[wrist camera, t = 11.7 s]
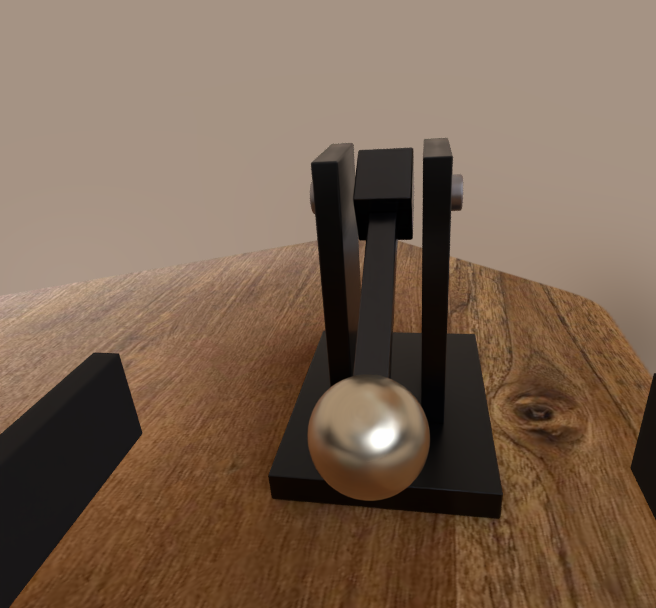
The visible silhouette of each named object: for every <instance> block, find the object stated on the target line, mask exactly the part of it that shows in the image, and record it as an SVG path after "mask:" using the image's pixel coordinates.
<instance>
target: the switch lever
mask: <svg viewBox="0 0 656 608" xmlns="http://www.w3.org/2000/svg"><path fill="white" fill-rule="evenodd" d="M353 204H354V211H355V217H356V224H357V230H358V237H359V240H366V247H365V257H364V268H363V278H362V289H361V299H360V310H359V320H358V331H357V341H356V352H355V362H354V373H353V376H352V377H349V378H346V379H344V380H341V381H340V382H338V383H336V384H335V385H333V386H332V387H330V388H329V389H328V390H327V391H326V392H325V393H324V394H323V395H322V396H321V398H320V399H319V400H318V402H317V403H316V405H315V407H314V409H313V412H312V414H311V417H310V420H309V425H308V447H309V452H310V455H311V458H312V461H313V463H314V465H315V467H316V469H317V471H318V472H319V474H320V475H321V477H322V478H323V479H324V480H325V481H326V482H327V483H328V484H329V485H330V486H331V487H332V488H334V489H335V490H337V491H338V492H340V493H341V494H344V495H346V496H348V497H351V498H354V499H359V500H366V501H374V500H382V499H386V498H389V497H392V496H394V495H396V494H398V493H400V492H401V491H403V490H404V489H406V488H407V487H408V486H409V485H411V484H412V482H413V481H414V480H415V479H416V478H417V477H418V475H419V474H420V473H421V471H422V469H423V467H424V465H425V462H426V460H427V456H428V452H429V447H430V431H429V426H428V421H427V418H426V415H425V413H424V411H423V409H422V407H421V405H420V403H419V402H418V400H417V399H416V398H415V397H414V395H413V394H412V393H411V392H410V391H409V390H407V389H406V388H405V387H404V386H402V385H401V384H399V383H398V382H396V381H394V380H392V379H391V363H392V343H393V323H394V303H395V283H396V263H397V243H398V240H411V239H412V238H413V209H414V208H413V207H414V162H413V148H396V149H395V148H394V149H373V150H359V152H358V159H357V168H356V176H355V184H354V192H353Z"/></svg>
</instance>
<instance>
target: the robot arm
mask: <svg viewBox="0 0 656 608" xmlns="http://www.w3.org/2000/svg"><path fill="white" fill-rule="evenodd" d="M141 435H142V430H141V426H140V423H139V420H138V416H137V413H136V409H135V406H134V403H133V399H132V396H131V393H130V389H129V386H128V383H127V379H126V376H125V373H124V369H123V366H122V362H121V359H120V356H119V354H117V353H93V354H92V355H91V356H89V357H88V358H87V359H86V360H85V361H84V362H83V363H81V364H80V365H79V366H78V367H77V368H76V369H75V370H73V371H72V372H71V373H70V374H69V375H68V376H67V377H65V378H64V379H63V380H62V381H61V382H60V383H59V384H57V385H56V386H55V387H54V388H53V389H52V390H51V391H49V392H48V393H47V394H46V395H45V396H44V397H43V398H41V399H40V400H39V401H38V402H37V403H36V404H35V405H33V406H32V407H31V408H30V409H29V410H28V411H27V412H25V413H24V414H23V415H22V416H21V417H20V418H19V419H17V420H16V421H15V422H14V423H13V424H12V425H11V426H9V427H8V428H7V429H6V430H5V431H4V432H3V433H1V434H0V608H9V607H10V606H11V604H12V603H13V602H14V600H15V599H16V598H17V596H18V595H19V594H20V592H21V591H22V590H23V589H24V587H25V586H26V585H27V583H28V582H29V581H30V579H31V578H32V577H33V576H34V574H35V573H36V572H37V570H38V569H39V568H40V566H41V565H42V564H43V563H44V561H45V560H46V559H47V557H48V556H49V555H50V553H51V552H52V551H53V549H54V548H55V547H56V546H57V544H58V543H59V542H60V540H61V539H62V538H63V536H64V535H65V534H66V533H67V531H68V530H69V529H70V527H71V526H72V525H73V523H74V522H75V521H76V520H77V518H78V517H79V516H80V514H81V513H82V512H83V510H84V509H85V508H86V506H87V505H88V504H89V503H90V501H91V500H92V499H93V497H94V496H95V495H96V493H97V492H98V491H99V490H100V488H101V487H102V486H103V484H104V483H105V482H106V480H107V479H108V478H109V477H110V475H111V474H112V473H113V471H114V470H115V469H116V467H117V466H118V465H119V463H120V462H121V461H122V460H123V458H124V457H125V456H126V454H127V453H128V452H129V450H130V449H131V448H132V447H133V445H134V444H135V443H136V441H137V440H138V439H139V437H140V436H141ZM631 470H632V472H633V474H634V476H635V478H636V481H637V483H638V485H639V487H640V489H641V491H642V493H643V495H644V497H645V499H646V501H647V503H648V505H649V507H650V509H651V511H652V513H653V515H654V517H655V520H656V373H654V376H653V380H652V384H651V388H650V392H649V396H648V400H647V404H646V408H645V412H644V416H643V420H642V424H641V428H640V432H639V436H638V440H637V444H636V448H635V452H634V456H633V460H632V464H631Z"/></svg>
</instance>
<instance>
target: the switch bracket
mask: <svg viewBox="0 0 656 608" xmlns="http://www.w3.org/2000/svg"><path fill="white" fill-rule="evenodd" d="M353 146H354V145H353V143H342V144H332V145H330V146H329V147H328V148H327V149H326V150H325V151H324V152H323V153H321V154H320V155H319V156H318V157H317V158H316V159H315V160H314V161H313V162H312V163H311V170H312V182H311V187H310V204H311V209H312V211H313V213H314V214H315V217H316V226H317V227H316V228H317V240H318V251H319V263H320V274H321V286H322V297H323V308H324V320H325V331H323V333H322V336H321V338H320V341H319V344H318V346H317V349H316V351H315V354H314V357H313V359H312V362H311V365H310V367H309V370H308V372H307V375H306V378H305V380H304V383H303V386H302V388H301V391H300V393H299V396H298V399H297V401H296V404H295V407H294V409H293V412H292V415H291V417H290V420H289V422H288V425H287V428H286V430H285V433H284V436H283V438H282V441H281V443H280V446H279V449H278V451H277V454H276V457H275V459H274V462H273V464H272V467H271V470H270V472H269V475H268V477H269V483H270V489H271V495H272V498H273V499H283V500H294V501H305V502H317V503H328V504H339V505H350V506H362V507H373V508H384V509H395V510H407V511H418V512H429V513H440V514H452V515H463V516H474V517H485V518H497V519H499V518H500V516H501V507H502V497H503V492H502V487H501V481H500V475H499V469H498V464H497V458H496V452H495V446H494V440H493V435H492V429H491V423H490V417H489V412H488V406H487V400H486V394H485V389H484V383H483V377H482V371H481V365H480V360H479V354H478V348H477V342H476V337H475V334H447V317H448V287H449V257H450V226H451V211H460V210H461V209H462V203H463V176H462V175H461V174H457V175H452V166H453V165H452V164H453V156H452V152H451V148H450V144H449V141H448V138H437V139H424V149H423V237H422V245H423V246H422V333H396V332H393V343H392V363H391V379H392V380H394V381H396V382H398V383H399V384H401V385H402V386H404V387H405V388H406V389H407V390H409V391H410V392H411V393H412V394H413V395H414V397H415V398H416V399H417V400H418V402H419V403H420V405H421V407H422V409H423V411H424V413H425V415H426V418H427V421H428V426H429V431H430V447H429V452H428V456H427V460H426V462H425V465H424V467H423V469H422V471H421V473H420V474H419V475H418V477H417V478H416V479H415V480H414V481H413V482H412V484H411V485H409V486H408V487H407V488H406V489H404V490H403V491H401V492H400V493H398V494H396V495H394V496H392V497H389V498H386V499H382V500H374V501H366V500H359V499H354V498H351V497H348V496H346V495H344V494H341V493H340V492H338V491H337V490H335V489H334V488H332V487H331V486H330V485H329V484H328V483H327V482H326V481H325V480H324V479H323V478H322V477H321V475H320V474H319V472H318V471H317V469H316V467H315V465H314V463H313V461H312V458H311V455H310V452H309V447H308V425H309V420H310V417H311V414H312V412H313V409H314V407H315V405H316V403H317V402H318V400H319V399H320V398H321V396H322V395H323V394H324V393H325V392H326V391H327V390H328V389H329V388H330V387H332V386H333V385H335V384H336V383H338V382H340V381H341V380H344V379H346V378H349V377H352V376H353V373H354V362H355V352H356V341H357V331H358V320H359V310H360V299H361V284H360V264H359V244H358V230H357V224H356V217H355V211H354V204H353V192H354V184H355V165H354V147H353Z"/></svg>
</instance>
